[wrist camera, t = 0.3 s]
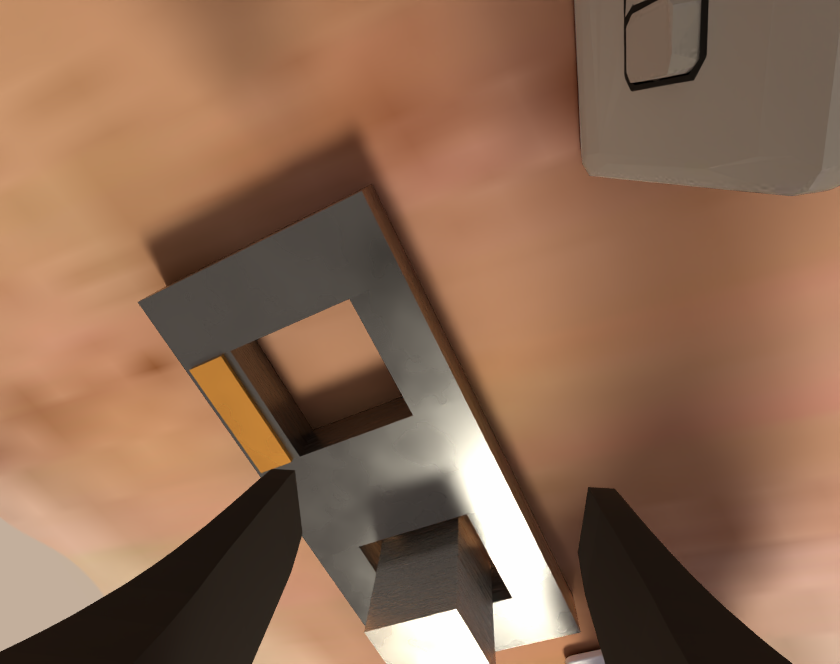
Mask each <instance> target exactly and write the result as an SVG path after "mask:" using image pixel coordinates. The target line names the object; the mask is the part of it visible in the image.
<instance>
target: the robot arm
mask: <svg viewBox="0 0 840 664" xmlns="http://www.w3.org/2000/svg"><path fill="white" fill-rule="evenodd" d="M301 537H302V524H301V516H300V508H299V499H298V491H297V482H296V474H295V470H284V469H271V470H270V471H268V472H267V473H266V474H265V475H264V476H263V477H261V478H260V479H259V480H258V481H257V482H256V483H255V484H253V485H252V486H251V487H250V488H249V489H248V490H247V491H245V492H244V493H243V494H242V495H241V496H240V497H239V498H238V499H236V500H235V501H234V502H233V503H232V504H231V505H230V506H228V507H227V508H226V509H225V510H224V511H223V512H221V513H220V514H219V515H218V516H217V517H215V518H214V519H213V520H212V521H211V522H210V523H208V524H207V525H206V526H205V527H203V528H202V529H201V530H200V531H198V532H197V533H196V534H194V535H193V536H192V537H191V538H189V539H188V540H187V541H185V542H184V543H183V544H182V545H180V546H179V547H178V548H177V549H175V550H174V551H173V552H171V553H170V554H169V555H167V556H166V557H164V558H163V559H162V560H160V561H159V562H157V563H156V564H155V565H153V566H152V567H150V568H149V569H147V570H146V571H144V572H143V573H141V574H140V575H138V576H137V577H135V578H134V579H132V580H131V581H129V582H128V583H126V584H124V585H123V586H121V587H120V588H118V589H116V590H114V591H113V592H111V593H109V594H108V595H106V596H104V597H103V598H101V599H99V600H98V601H96V602H94V603H93V604H91V605H89V606H87V607H86V608H84V609H82V610H81V611H79V612H77V613H76V614H74V615H72V616H70V617H68V618H66V619H64V620H62V621H61V622H59V623H57V624H55V625H53V626H51V627H49V628H47V629H45V630H43V631H42V632H39V633H38V634H35V635H34V636H31V637H30V638H28V639H26V640H24V641H22V642H20V643H17V644H15V645H13V646H11V647H9V648H7V649H5V650H3V651H1V652H0V664H252V662H253V660H254V658H255V655H256V653H257V651H258V648H259V646H260V644H261V641H262V639H263V637H264V634H265V632H266V630H267V628H268V625H269V623H270V621H271V618H272V616H273V614H274V611H275V609H276V607H277V604H278V602H279V600H280V597H281V595H282V593H283V590H284V588H285V586H286V583H287V581H288V578H289V576H290V574H291V571H292V567H293V564H294V561H295V558H296V554H297V551H298V547H299V544H300V540H301ZM578 555H579V562H580V568H581V574H582V580H583V585H584V591H585V596H586V600H587V603H588V607H589V610H590V614H591V617H592V621H593V624H594V628H595V631H596V634H597V638H598V641H599V645H600V648H601V649H599V650H595V651H590V652H585V653H581V654H576V655H571V656H569V657H567V658H566V660H565V664H792V663H791V662H790V661H788V660H787V659H786V658H785V657H783V656H782V655H781V654H779V653H778V652H777V651H776V650H774V649H773V648H772V647H771V646H769V645H768V644H767V643H766V642H765V641H763V640H762V639H761V638H760V637H758V636H757V635H756V634H755V633H754V632H753V631H752V630H750V629H749V628H748V627H747V626H746V625H745V624H743V623H742V622H741V621H740V620H739V619H738V618H737V617H735V616H734V615H733V614H732V613H731V612H730V611H729V610H727V609H726V608H725V607H724V606H723V605H722V604H721V603H720V602H719V601H718V600H717V599H716V598H714V597H713V596H712V595H711V594H710V593H709V592H708V591H707V590H706V589H705V588H704V587H703V586H702V585H701V584H700V583H699V582H698V581H697V580H696V579H695V578H694V577H693V576H692V575H691V574H690V573H689V572H688V571H687V570H686V569H685V568H684V567H683V566H682V565H681V564H680V562H679V561H678V560H677V559H676V558H675V557H674V556H673V555H672V554H671V553H670V552H669V551H668V549H667V548H666V547H665V546H664V545H663V544H662V543H661V542H660V541H659V540H658V538H657V537H656V536H655V535H654V534H653V533H652V532H651V531H650V529H649V528H648V527H647V526H646V525H645V524H644V522H643V521H642V520H641V519H640V518H639V517H638V515H637V514H636V513H635V512H634V511H633V510H632V508H631V507H630V506H629V505H628V504H627V502H626V501H625V500H624V499H623V498H622V497H621V495H620V494H619V493H618V492H617V491H616V490H615V489H609V488H592V487H588V493H587V499H586V505H585V511H584V518H583V524H582V530H581V536H580V543H579V549H578Z"/></svg>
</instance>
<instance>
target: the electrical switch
mask: <svg viewBox="0 0 840 664" xmlns="http://www.w3.org/2000/svg"><path fill="white" fill-rule="evenodd" d="M574 7H575V29H576V50H577V72H578V93H579V115H580V136H581V157H582V164H583V166H584V167H585V169H586V171H587V172H588V174H589V176H597V177H605V178H613V179H623V180H633V181H643V182H653V183H664V184H674V185H684V186H694V187H704V188H714V189H725V190H735V191H745V192H755V193H765V194H775V195H785V196H796V195H802V194H809V193H815V192H822V191H827V190H831V189H833V188H835V187H838V186H840V0H574Z"/></svg>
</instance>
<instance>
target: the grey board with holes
mask: <svg viewBox="0 0 840 664" xmlns="http://www.w3.org/2000/svg"><path fill="white" fill-rule="evenodd" d="M348 299H350V301H351V302H352V304H353V306H354V308H355V310H356V312H357V313H358V315H359V317H360V319H361V321H362V323H363V324H364V326H365V328H366V330H367V332H368V334H369V335H370V337H371V339H372V341H373V343H374V345H375V346H376V348H377V350H378V352H379V354H380V356H381V357H382V359H383V361H384V363H385V365H386V367H387V368H388V370H389V372H390V374H391V376H392V378H393V379H394V381H395V383H396V385H397V387H398V389H399V390H400V392H401V394H402V396H403V397H401V398H398V399H396V400H393V401H390V402H388V403H385V404H382V405H380V406H377V407H374V408H372V409H369V410H366V411H364V412H361V413H358V414H356V415H353V416H350V417H348V418H345V419H342V420H340V421H337V422H334V423H332V424H329V425H326V426H324V427H321V428H318V429H316V430H312V429H311V427H310V425H309V424H308V422H307V421H306V419H305V417H304V416H303V414H302V413H301V411H300V410H299V408H298V406H297V405H296V403H295V402H294V400H293V399H292V397H291V395H290V394H289V392H288V391H287V389H286V387H285V386H284V384H283V383H282V381H281V380H280V378H279V376H278V375H277V373H276V372H275V370H274V369H273V367H272V365H271V364H270V362H269V361H268V359H267V357H266V356H265V354H264V353H263V351H262V350H261V348H260V346H259V345H258V343H257V342H256V340H257V339H259V338H261V337H264V336H266V335H268V334H270V333H273V332H275V331H277V330H279V329H282V328H284V327H286V326H289V325H291V324H293V323H295V322H298V321H300V320H302V319H304V318H307V317H309V316H311V315H314V314H316V313H318V312H320V311H323V310H325V309H327V308H329V307H332V306H334V305H336V304H339V303H341V302H343V301H345V300H348ZM138 303H139V305H140V306H141V308H142V309H143V310H144V312H145V313H146V315H147V316H148V318H149V319H150V320H151V322H152V323H153V325H154V326H155V327H156V329H157V330H158V332H159V333H160V335H161V336H162V337H163V339H164V340H165V342H166V343H167V345H168V346H169V347H170V349H171V350H172V352H173V353H174V355H175V356H176V357H177V359H178V360H179V362H180V363H181V365H182V366H183V367H184V369H185V370H186V372H187V373H188V374H189V376H190V377H191V379H192V380H193V382H194V383H195V384H196V386H197V387H198V389H199V390H200V392H201V393H202V394H203V396H204V397H205V399H206V400H207V402H208V403H209V404H210V406H211V407H212V409H213V410H214V411H215V413H216V414H217V416H218V417H219V419H220V420H221V421H222V423H223V424H224V426H225V427H226V429H227V430H228V431H229V433H230V434H231V436H232V437H233V439H234V440H235V441H236V443H237V444H238V446H239V447H240V449H241V450H242V451H243V453H244V454H245V456H246V457H247V458H248V460H249V461H250V463H251V464H252V466H253V467H254V468H255V470H256V471H257V473H258V474H259V476H260V477H263V476H264V475H265V474H266V473H267V472H268V471H270V470H271V469H284V470H295V474H296V482H297V491H298V499H299V508H300V516H301V524H302V537H303V538H304V540H305V541H306V542H307V544H308V545H309V547H310V548H311V550H312V551H313V552H314V554H315V555H316V557H317V558H318V560H319V561H320V562H321V564H322V565H323V567H324V568H325V570H326V571H327V572H328V574H329V575H330V577H331V578H332V580H333V581H334V582H335V584H336V585H337V587H338V588H339V589H340V591H341V592H342V594H343V595H344V597H345V598H346V599H347V601H348V602H349V604H350V605H351V607H352V608H353V609H354V611H355V612H356V614H357V615H358V617H359V618H360V619H361V621H362V622H363V624H364V625H365V626H366V621H367V616H368V611H369V606H370V601H371V596H372V591H373V586H374V581H375V576H376V572H377V567H378V562H379V557H380V552H381V547H382V542H383V541H382V539H386V538H389V537H392V536H396V535H399V534H402V533H406V532H409V531H412V530H416V529H419V528H422V527H426V526H429V525H432V524H436V523H439V522H442V521H446V520H449V519H452V518H456V517H459V516H462V515H466V514H467V515H468V517H469V519H470V521H471V523H472V524H473V526H474V528H475V530H476V532H477V534H478V535H479V537H480V539H481V541H482V543H483V545H484V546H485V548H486V550H487V552H488V554H489V556H490V557H491V559H492V561H493V563H494V565H495V567H496V568H493V569H491V582H492V601H493V620H494V639H495V652H496V651H500V650H504V649H509V648H513V647H518V646H522V645H527V644H531V643H535V642H540V641H544V640H549V639H553V638H558V637H562V636H566V635H571V634H575V633H580V632H581V631H580V627H579V622H578V618H577V613H576V609H575V604H574V600H573V596H572V594H571V592H570V590H569V588H568V586H567V583H566V581H565V579H564V577H563V575H562V573H561V571H560V569H559V567H558V565H557V563H556V561H555V559H554V557H553V555H552V553H551V551H550V549H549V547H548V544H547V542H546V540H545V538H544V536H543V534H542V532H541V530H540V528H539V526H538V524H537V522H536V520H535V518H534V516H533V514H532V512H531V510H530V508H529V506H528V503H527V501H526V499H525V497H524V495H523V493H522V491H521V489H520V487H519V485H518V483H517V481H516V479H515V477H514V475H513V473H512V471H511V469H510V467H509V464H508V462H507V460H506V458H505V456H504V454H503V452H502V450H501V448H500V446H499V444H498V442H497V440H496V438H495V436H494V434H493V432H492V430H491V428H490V426H489V423H488V421H487V419H486V417H485V415H484V413H483V411H482V409H481V407H480V405H479V403H478V401H477V399H476V397H475V395H474V393H473V391H472V389H471V387H470V384H469V382H468V380H467V378H466V376H465V374H464V372H463V370H462V368H461V366H460V364H459V362H458V360H457V358H456V356H455V354H454V352H453V350H452V348H451V346H450V343H449V341H448V339H447V337H446V335H445V333H444V331H443V329H442V327H441V325H440V323H439V321H438V319H437V317H436V315H435V313H434V311H433V309H432V307H431V304H430V302H429V300H428V298H427V296H426V294H425V292H424V290H423V288H422V286H421V284H420V282H419V280H418V278H417V276H416V274H415V272H414V270H413V268H412V266H411V263H410V261H409V259H408V257H407V255H406V253H405V251H404V249H403V247H402V245H401V243H400V241H399V239H398V237H397V235H396V233H395V231H394V229H393V227H392V224H391V222H390V220H389V218H388V216H387V214H386V212H385V210H384V208H383V206H382V204H381V202H380V200H379V198H378V196H377V194H376V192H375V190H374V188H373V185H372V184H371V185H369V186H367V187H365V188H363V189H361V190H359V191H357V192H355V193H353V194H351V195H349V196H347V197H345V198H343V199H341V200H339V201H337V202H335V203H333V204H331V205H329V206H327V207H325V208H323V209H321V210H319V211H317V212H315V213H313V214H311V215H309V216H307V217H305V218H303V219H301V220H299V221H297V222H295V223H293V224H291V225H289V226H287V227H285V228H283V229H281V230H279V231H277V232H275V233H273V234H271V235H269V236H267V237H265V238H262V239H260V240H258V241H256V242H254V243H252V244H250V245H248V246H246V247H244V248H242V249H240V250H238V251H236V252H234V253H232V254H230V255H228V256H226V257H224V258H222V259H220V260H218V261H216V262H214V263H212V264H210V265H208V266H206V267H204V268H202V269H200V270H198V271H196V272H194V273H192V274H190V275H188V276H186V277H184V278H182V279H180V280H178V281H176V282H174V283H172V284H170V285H168V286H166V287H164V288H162V289H161V290H159V291H157V292H155V293H153V294H151V295H150V296H148V297H146V298H144V299H142V300H141V301H139V302H138Z"/></svg>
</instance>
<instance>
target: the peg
mask: <svg viewBox="0 0 840 664" xmlns="http://www.w3.org/2000/svg"><path fill="white" fill-rule="evenodd" d="M364 633H365V634H366V636H367V637H368V638H369V640H370V641H371V643H372V644H373V645H374V647H375V648H376V650H377V651H378V652H379V654H380V655H381V657H382V658H383V660H384V661H385V662H386V664H496V659H495V639H494V620H493V601H492V582H491V563H490V556H489V554H488V552H487V550H486V548H485V546H484V545H483V543H482V541H481V539H480V537H479V535H478V534H477V532H476V530H475V528H474V526H473V524H472V523H471V521H470V519H469V517H468V515H467V514H466V515H462V516H459V517H456V518H452V519H449V520H446V521H442V522H439V523H436V524H432V525H429V526H426V527H422V528H419V529H416V530H412V531H409V532H406V533H402V534H399V535H396V536H392V537H389V538H386V539H383V542H382V547H381V552H380V557H379V562H378V567H377V572H376V576H375V581H374V586H373V591H372V596H371V601H370V606H369V611H368V616H367V621H366V626H365V631H364Z"/></svg>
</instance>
